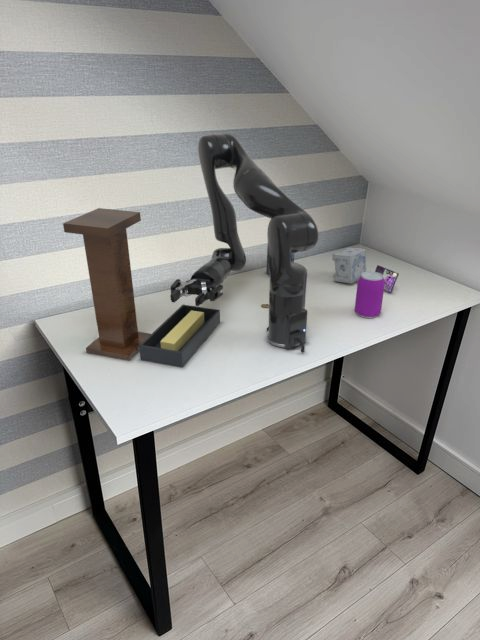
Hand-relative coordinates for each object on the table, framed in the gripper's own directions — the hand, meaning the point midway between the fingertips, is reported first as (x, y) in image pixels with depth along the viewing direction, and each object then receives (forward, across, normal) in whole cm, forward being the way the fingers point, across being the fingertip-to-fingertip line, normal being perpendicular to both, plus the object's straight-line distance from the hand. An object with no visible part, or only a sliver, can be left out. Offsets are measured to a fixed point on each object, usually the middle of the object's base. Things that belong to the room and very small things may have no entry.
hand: (184, 300), depth 131 cm
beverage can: (-30, +44, +10) cm, 54 cm away
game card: (-52, +48, +10) cm, 71 cm away
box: (-53, +12, +10) cm, 55 cm away
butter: (+2, 0, +10) cm, 10 cm away
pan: (+2, 0, +10) cm, 11 cm away
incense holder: (-55, +35, +10) cm, 66 cm away
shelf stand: (+10, -14, +10) cm, 20 cm away
